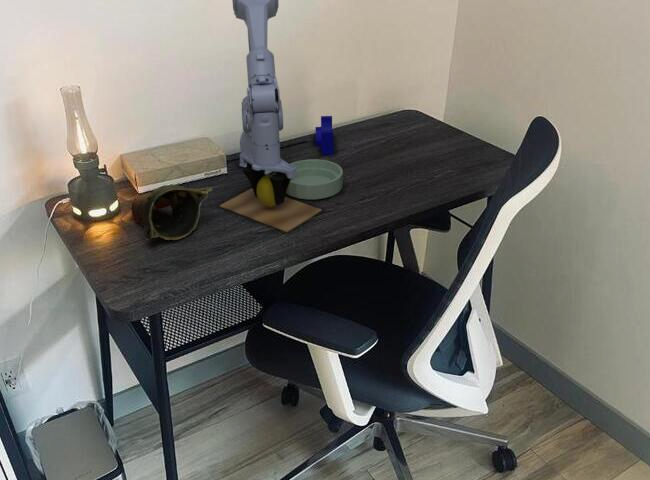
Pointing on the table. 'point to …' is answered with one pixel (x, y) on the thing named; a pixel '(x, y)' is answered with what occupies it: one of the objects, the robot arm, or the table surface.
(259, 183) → the lemon
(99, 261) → the table surface
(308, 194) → the bowl
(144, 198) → the pot
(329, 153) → the cable clip
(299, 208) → the cork mat
